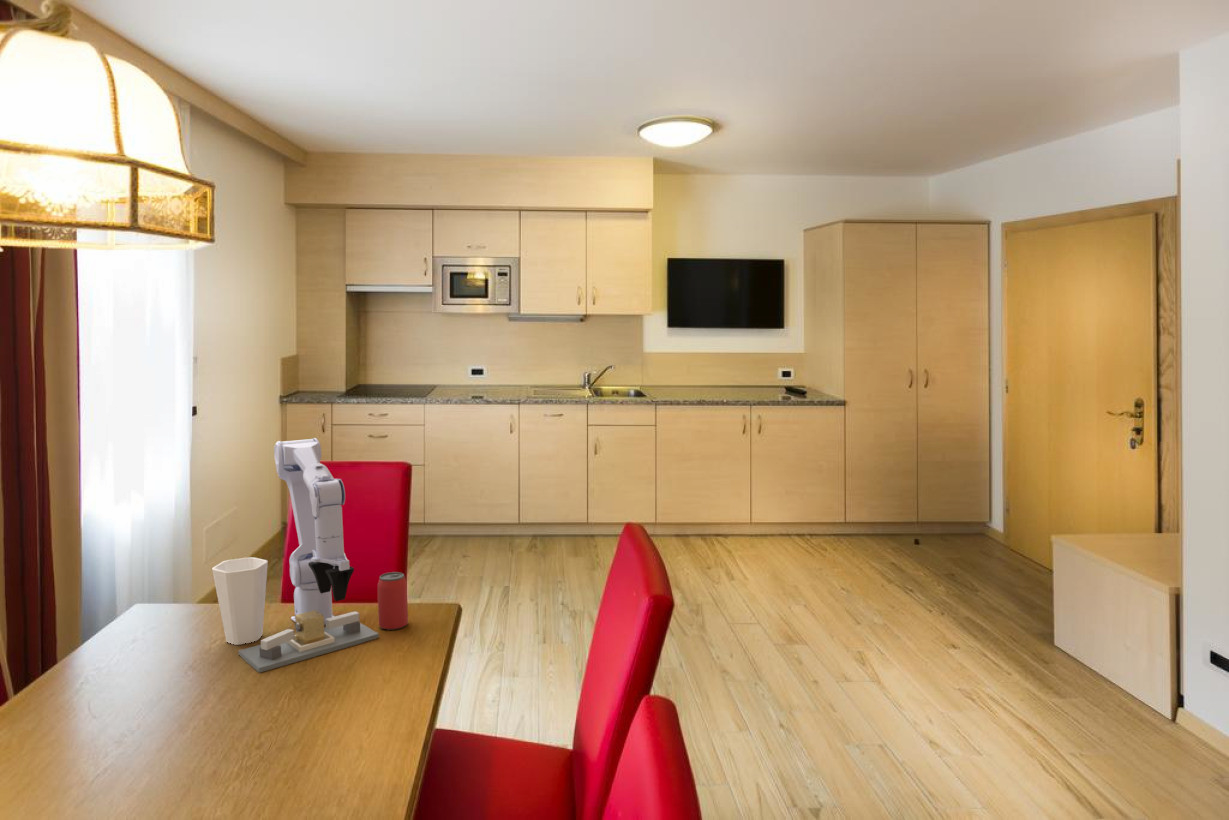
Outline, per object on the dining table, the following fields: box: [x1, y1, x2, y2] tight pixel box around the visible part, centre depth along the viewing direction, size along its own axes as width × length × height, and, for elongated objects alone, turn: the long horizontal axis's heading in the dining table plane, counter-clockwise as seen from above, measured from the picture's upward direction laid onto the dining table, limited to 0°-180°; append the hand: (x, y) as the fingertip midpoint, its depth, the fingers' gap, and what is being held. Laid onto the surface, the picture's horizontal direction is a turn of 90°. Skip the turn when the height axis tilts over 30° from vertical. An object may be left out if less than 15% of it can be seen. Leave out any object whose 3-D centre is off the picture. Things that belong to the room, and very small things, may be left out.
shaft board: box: [238, 610, 380, 673], centre depth 175 cm, size 12×26×5 cm, turn 133°
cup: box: [211, 556, 269, 646], centre depth 178 cm, size 11×10×17 cm
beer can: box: [377, 571, 409, 631], centre depth 186 cm, size 7×7×12 cm
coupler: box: [294, 610, 325, 646], centre depth 174 cm, size 4×6×6 cm
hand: (332, 596), depth 176 cm, fingers open, 7 cm apart
